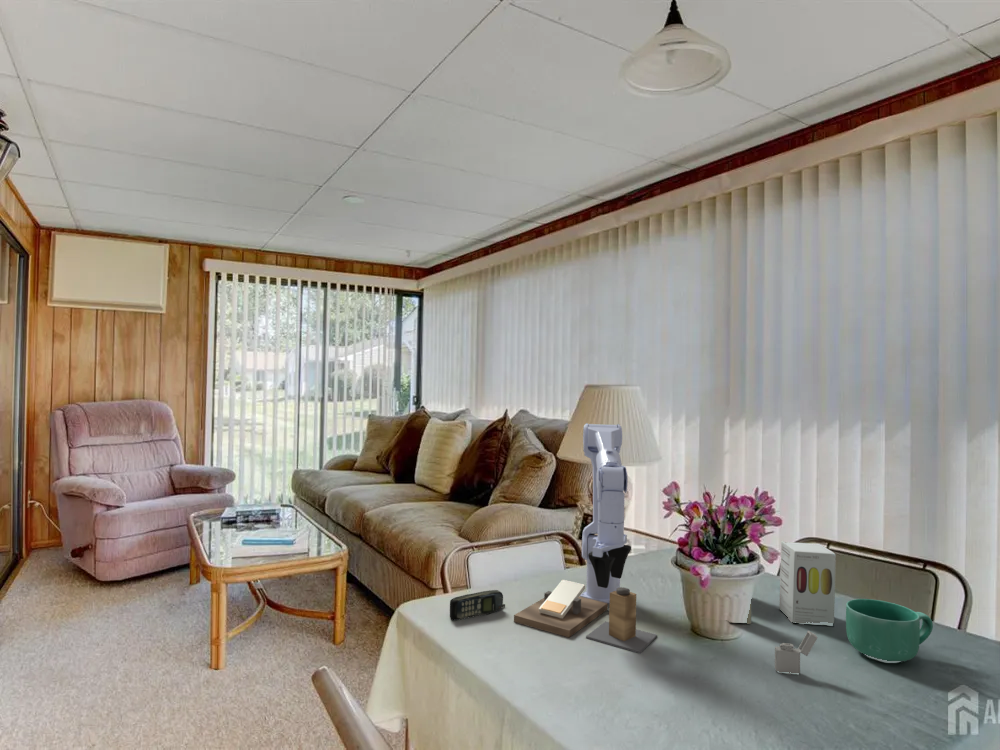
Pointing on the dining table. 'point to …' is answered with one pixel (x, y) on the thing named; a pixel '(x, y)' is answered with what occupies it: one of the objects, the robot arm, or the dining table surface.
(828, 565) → the supplement box
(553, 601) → the white two-tone slab
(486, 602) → the mobile phone
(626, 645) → the rest mat
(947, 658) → the dining table surface
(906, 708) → the dining table surface
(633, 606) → the wood grain block
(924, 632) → the mug
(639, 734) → the dining table surface
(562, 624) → the switch panel
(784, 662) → the lighter
